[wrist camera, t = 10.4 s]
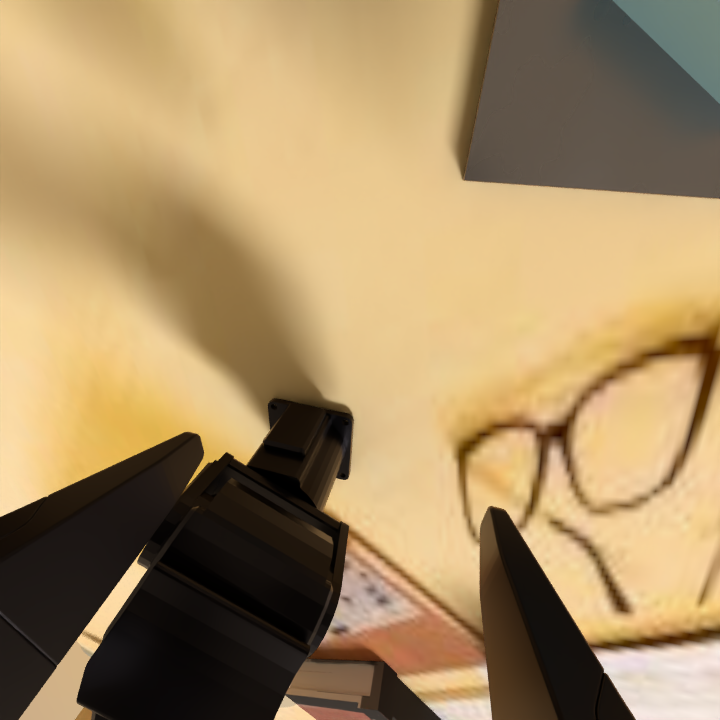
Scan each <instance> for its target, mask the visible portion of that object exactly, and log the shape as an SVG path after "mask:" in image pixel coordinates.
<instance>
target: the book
mask: <svg viewBox="0 0 720 720" xmlns="http://www.w3.org/2000/svg"><path fill="white" fill-rule="evenodd" d="M285 695H286V696H287V697H288V698H290V699H291V700H292V701H293V702H295V703H296V704H297V705H299V706H300V707H301V708H302V709H304V710H305V711H306V712H307V713H309V714H310V715H311V716H313V717H314V718H315V719H316V720H441V719H440V718H439V717H438V716H437V715H436V714H435V713H434V712H433V711H432V710H431V709H430V708H429V707H427V706H426V705H425V704H424V703H423V702H422V701H421V700H420V699H419V698H418V697H417V696H416V695H415V694H414V693H413V692H412V691H411V690H410V689H409V688H408V687H407V686H406V685H405V684H404V683H403V682H402V681H401V680H400V679H399V678H397V673H396V672H395V671H394V670H392V669H391V668H390V667H389V666H388V665H387V664H386V663H385V662H378V661H352V660H325V659H308V657H307V658H306V659H305V661H304V663H303V664H302V666H301V667H300V669H299V670H298V672H297V673H296V675H295V677H294V679H293V681H292V683H291V685H290V688H288V690H287V692H286V694H285Z"/></svg>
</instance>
